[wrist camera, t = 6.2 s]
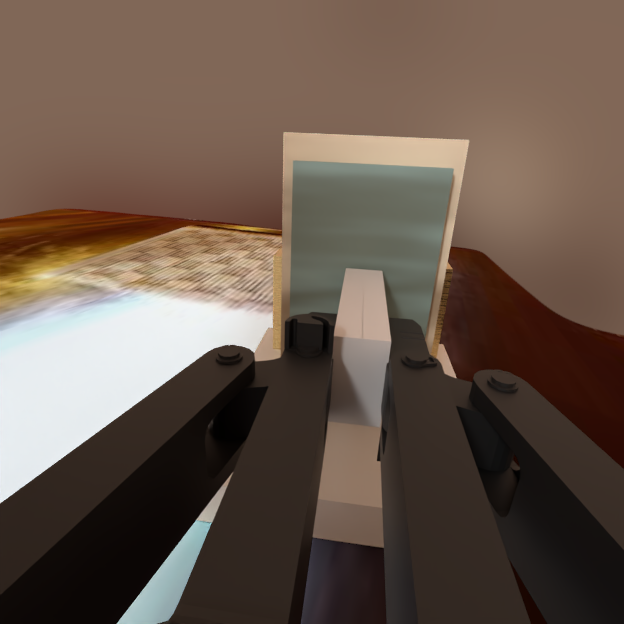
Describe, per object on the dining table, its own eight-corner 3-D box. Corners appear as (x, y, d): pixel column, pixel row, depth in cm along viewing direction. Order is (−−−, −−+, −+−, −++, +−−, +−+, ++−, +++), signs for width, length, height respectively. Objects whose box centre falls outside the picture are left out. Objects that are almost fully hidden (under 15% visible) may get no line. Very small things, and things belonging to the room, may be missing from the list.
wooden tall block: (422, 416, 19) (473, 139, 14) (277, 399, 19) (280, 131, 15) (412, 367, 23) (448, 142, 18) (293, 355, 24) (299, 135, 19)
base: (502, 565, 14) (515, 526, 14) (187, 519, 16) (183, 480, 15) (438, 370, 27) (443, 344, 26) (268, 353, 28) (268, 327, 28)
